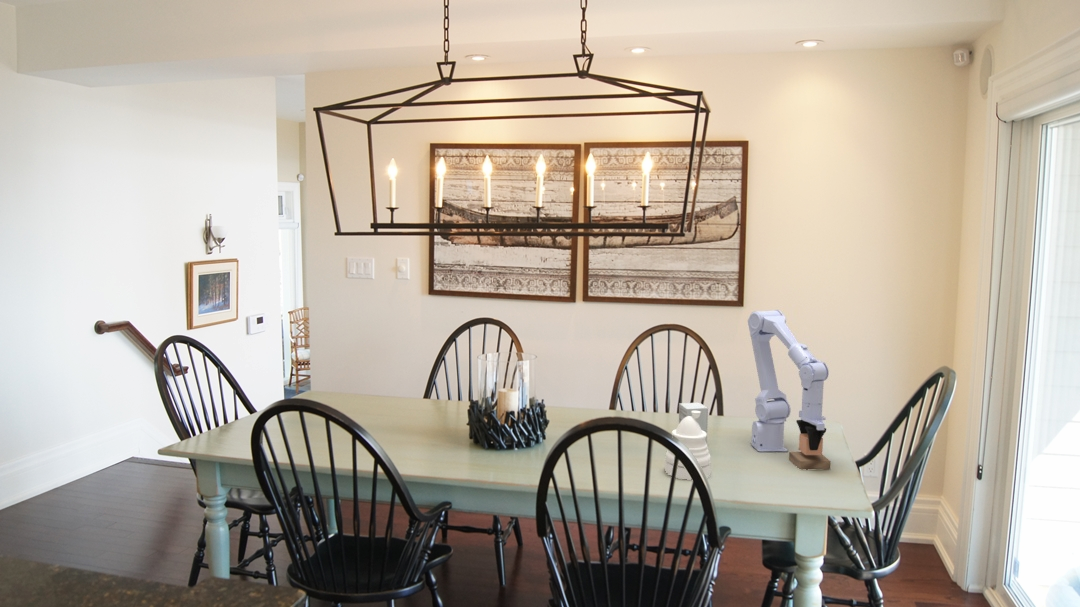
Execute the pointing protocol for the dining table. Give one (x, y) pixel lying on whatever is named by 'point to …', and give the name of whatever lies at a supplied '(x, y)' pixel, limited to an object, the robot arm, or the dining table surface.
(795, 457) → the walnut base block
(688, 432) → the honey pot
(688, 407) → the supplement box
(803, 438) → the terracotta block
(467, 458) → the dining table surface
